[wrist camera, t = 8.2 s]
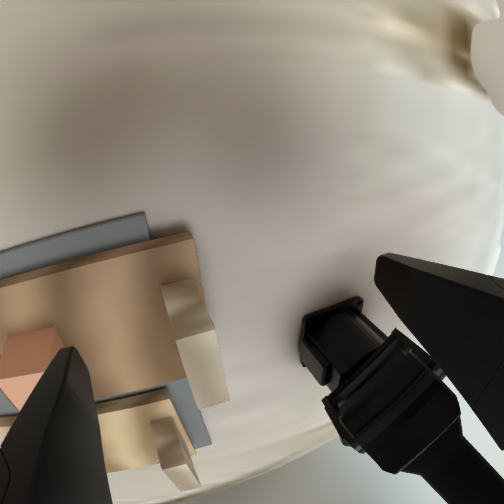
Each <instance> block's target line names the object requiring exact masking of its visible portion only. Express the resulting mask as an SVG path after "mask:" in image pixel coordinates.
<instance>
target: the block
mask: <svg viewBox="0 0 504 504" xmlns="http://www.w3.org/2000/svg"><path fill="white" fill-rule="evenodd" d="M64 347H65V345H64V343H63V341H62V339H61V338H60V336H59V334H58V332H57V330H56V328H55V326H53V327H49V328H45V329H40V330H36V331H32V332H27V333H23V334H18V335H14V336H9V337H7V339H6V342H5V345H4V348H3V352H2V355H1V359H0V388H1V389H2V390H3V392H4V393H5V394H6V395H7V397H8V398H9V399H10V400H11V402H12V403H13V404H14V405H15V406H16V407H17V409H18V410H19V411H20V410H21V408H22V407H23V405H24V403H25V402H26V400H27V398H28V397H29V395H30V394H31V392H32V390H33V389H34V387H35V386H36V384H37V382H38V381H39V379H40V378H41V376H42V375H43V373H44V372H45V370H46V368H47V367H48V365H49V364H50V362H51V361H52V359H53V358H54V356H55V355H56V353H57V352H58V351H59V349H61V348H64Z"/></svg>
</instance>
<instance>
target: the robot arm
mask: <svg viewBox="0 0 504 504" xmlns="http://www.w3.org/2000/svg"><path fill="white" fill-rule="evenodd" d="M374 282H375V285H376V286H377V288H378V289H379V290H380V292H381V293H382V295H383V296H384V297H385V299H386V300H387V302H388V303H389V304H390V306H391V307H392V309H393V310H394V311H395V313H396V314H397V316H398V317H399V318H400V320H401V321H402V322H403V323H404V325H405V326H406V327H407V328H408V329H409V330H410V332H411V333H412V334H413V335H414V336H415V338H416V339H417V340H418V341H419V342H420V344H421V345H422V346H423V347H424V348H425V350H426V351H427V352H428V353H429V354H427V353H426V352H425V351H424V350H423V349H422V348H420V347H419V346H418V345H417V344H415V343H414V342H413V341H411V340H410V339H409V338H408V337H406V336H405V335H404V334H403V333H401V332H400V331H399V330H397V329H396V328H395V329H394V330H393V331H392V332H391V333H392V334H391V335H390V336H389V337H387V336H386V335H385V334H384V333H383V332H382V331H381V330H380V329H379V328H378V327H377V326H375V325H374V324H373V323H372V322H371V321H370V320H369V319H368V318H367V317H366V316H365V315H363V314H362V313H361V312H362V306H363V299H362V298H361V297H360V296H358V297H355V298H352V299H350V300H347V301H345V302H342V303H340V304H337V305H334V306H332V307H329V308H326V309H323V310H321V311H318V312H315V313H312V314H310V315H307V316H306V317H305V318H304V319H303V326H302V339H301V345H300V359H301V365H302V366H303V367H307V368H308V369H309V371H310V372H311V373H312V375H313V376H314V377H315V379H316V380H317V381H318V383H319V384H320V385H322V386H325V385H327V386H328V388H329V389H330V390H331V393H330V394H329V395H328V396H325V397H324V398H323V399H322V402H323V404H324V406H325V410H326V412H327V414H328V415H329V417H330V419H331V421H332V423H333V425H334V426H335V428H336V430H337V432H338V434H339V436H340V439H341V442H342V444H343V445H345V446H351V447H352V448H354V449H355V450H356V451H358V452H359V453H362V454H363V453H365V452H366V453H367V454H368V455H370V457H371V458H372V459H373V460H374V461H375V462H376V463H377V464H378V465H379V466H380V468H381V469H382V470H383V471H386V472H389V473H392V474H397V473H399V472H400V471H402V472H406V473H412V474H417V475H421V476H422V477H423V478H424V479H425V480H426V481H427V482H428V483H429V484H430V486H431V487H432V488H433V489H434V490H435V491H436V492H437V493H438V494H439V495H440V496H441V497H442V498H443V499H444V500H445V501H446V502H447V503H448V504H504V479H503V478H502V477H501V476H500V475H499V474H498V472H496V470H495V469H494V468H493V467H492V466H491V465H490V464H489V463H488V462H487V461H486V460H485V459H484V457H483V456H481V454H480V453H479V452H478V451H477V450H476V449H475V448H474V447H473V446H472V445H471V444H470V443H469V442H468V441H467V440H466V439H465V437H464V436H463V433H462V426H461V419H460V415H461V411H460V407H459V402H458V400H457V397H456V395H455V394H454V393H453V392H452V391H451V390H450V389H449V388H448V387H447V386H446V385H445V383H444V382H443V381H442V380H443V379H444V378H445V377H446V376H447V377H448V378H449V379H450V381H451V382H452V383H453V385H454V386H455V387H456V389H457V390H458V391H459V393H460V394H461V395H462V396H463V398H464V399H465V400H466V402H467V403H468V404H469V406H470V407H471V408H472V410H473V411H474V413H475V414H476V416H477V417H478V418H479V420H480V421H481V422H482V424H483V425H484V427H485V428H486V429H487V431H488V432H489V434H490V435H491V437H492V438H493V439H494V441H495V442H496V444H497V445H498V447H499V448H500V449H501V450H504V279H503V278H498V277H494V276H490V275H485V274H481V273H477V272H473V271H469V270H465V269H460V268H456V267H452V266H447V265H443V264H439V263H434V262H430V261H425V260H421V259H416V258H412V257H407V256H403V255H398V254H393V253H386V254H383V255H380V256H379V257H378V258H377V261H376V268H375V274H374ZM0 504H113V503H112V498H111V494H110V489H109V484H108V478H107V473H106V467H105V460H104V454H103V447H102V439H101V431H100V425H99V420H98V415H97V410H96V405H95V400H94V395H93V390H92V384H91V378H90V373H89V370H88V368H87V366H86V364H85V362H84V361H83V359H82V357H81V355H80V354H79V352H78V350H77V349H76V347H75V346H68V347H64V348H61V349H59V351H58V352H57V353H56V355H55V356H54V358H53V359H52V361H51V362H50V364H49V365H48V367H47V368H46V370H45V372H44V373H43V375H42V376H41V378H40V379H39V381H38V382H37V384H36V386H35V387H34V389H33V390H32V392H31V394H30V395H29V397H28V398H27V400H26V402H25V403H24V405H23V407H22V408H21V410H20V412H19V414H18V415H17V417H16V419H15V420H14V422H13V424H12V426H11V428H10V429H9V431H8V433H7V435H6V437H5V438H4V440H3V442H2V444H1V448H0Z"/></svg>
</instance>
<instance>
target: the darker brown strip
mask: <svg viewBox="0 0 504 504" xmlns="http://www.w3.org/2000/svg"><path fill="white" fill-rule="evenodd" d="M53 326H55V328H56V330H57V332H58V334H59V336H60V338H61V339H62V341H63V343H64V345H65V347H68V346H75V347H76V349H77V350H78V352H79V354H80V355H81V357H82V359H83V361H84V362H85V364H86V366H87V368H88V370H89V373H90V378H91V384H92V390H93V395H94V399H99V398H104V397H109V396H114V395H118V394H123V393H127V392H132V391H136V390H140V389H145V388H149V387H153V386H157V385H161V384H165V383H169V382H172V381H176V380H180V379H184V378H188V381H189V384H190V387H191V390H192V393H193V396H194V399H195V401H196V404H197V407H198V410H200V409H203V408H207V407H210V406H213V405H217V404H220V403H223V402H226V401H229V400H230V398H229V394H228V389H227V384H226V379H225V374H224V369H223V364H222V359H221V354H220V349H219V344H218V338H217V333H216V329H215V326H214V324H213V322H212V320H211V318H210V316H209V314H208V312H207V309H206V305H205V300H204V294H203V289H202V283H201V278H200V272H199V266H198V260H197V254H196V248H195V242H194V238H193V236H192V234H191V233H190V231H188V232H183V233H179V234H175V235H170V236H166V237H162V238H158V239H153V240H149V241H145V242H141V243H137V244H133V245H129V246H125V247H121V248H117V249H113V250H109V251H105V252H101V253H97V254H93V255H89V256H85V257H81V258H78V259H74V260H70V261H66V262H63V263H59V264H55V265H51V266H48V267H44V268H40V269H37V270H33V271H30V272H26V273H23V274H19V275H16V276H12V277H9V278H5V279H2V280H0V359H1V355H2V352H3V348H4V345H5V342H6V339H7V337H9V336H14V335H18V334H23V333H27V332H32V331H36V330H40V329H45V328H49V327H53ZM0 390H1V392H2V393H3V394H4V395H5V397H6V398H7V399H8V400H9V402H10V403H11V404H12V405H13V406H14V408H15V409H16V410H17V411H19V410H18V409H17V407H16V406H15V405H14V404H13V403H12V402H11V400H10V399H9V398H8V397H7V395H6V394H5V393H4V392H3V390H2V389H1V388H0Z"/></svg>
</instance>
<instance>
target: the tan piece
mask: <svg viewBox="0 0 504 504" xmlns="http://www.w3.org/2000/svg"><path fill="white" fill-rule="evenodd" d="M95 405H96V410H97V415H98V420H99V425H100V431H101V439H102V447H103V454H104V460H105V467H106V473H109V472H116V471H122V470H128V469H134V468H139V467H144V466H149V465H154V464H159V463H160V464H161V468H162V470H163V472H164V473H165V474H166V475H167V476H168V477H169V479H170V480H171V481H172V482H173V483H174V484H175V485H176V487H177V488H178V489H179V490H180V491H181V492H182V491H186V490H190V489H194V488H198V487H201V484H200V482H199V479H198V476H197V474H196V471H195V468H194V465H193V462H192V460H191V457H190V456H192V455H195V454H196V451H195V448H194V446H193V444H192V442H191V440H190V438H189V436H188V434H187V431H186V429H185V427H184V425H183V423H182V421H181V419H180V417H179V415H178V412H177V410H176V408H175V406H174V404H173V401H172V399H171V397H170V395H169V392H168V390H167V388H165V389H161V390H157V391H153V392H149V393H145V394H140V395H136V396H132V397H127V398H123V399H118V400H113V401H108V402H103V403H98V404H95ZM16 417H17V416H9V417H0V433H1V434H2V435H3V436H4V437H6V435H7V433H8V431H9V429H10V428H11V426H12V424H13V422H14V420H15V419H16Z"/></svg>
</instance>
